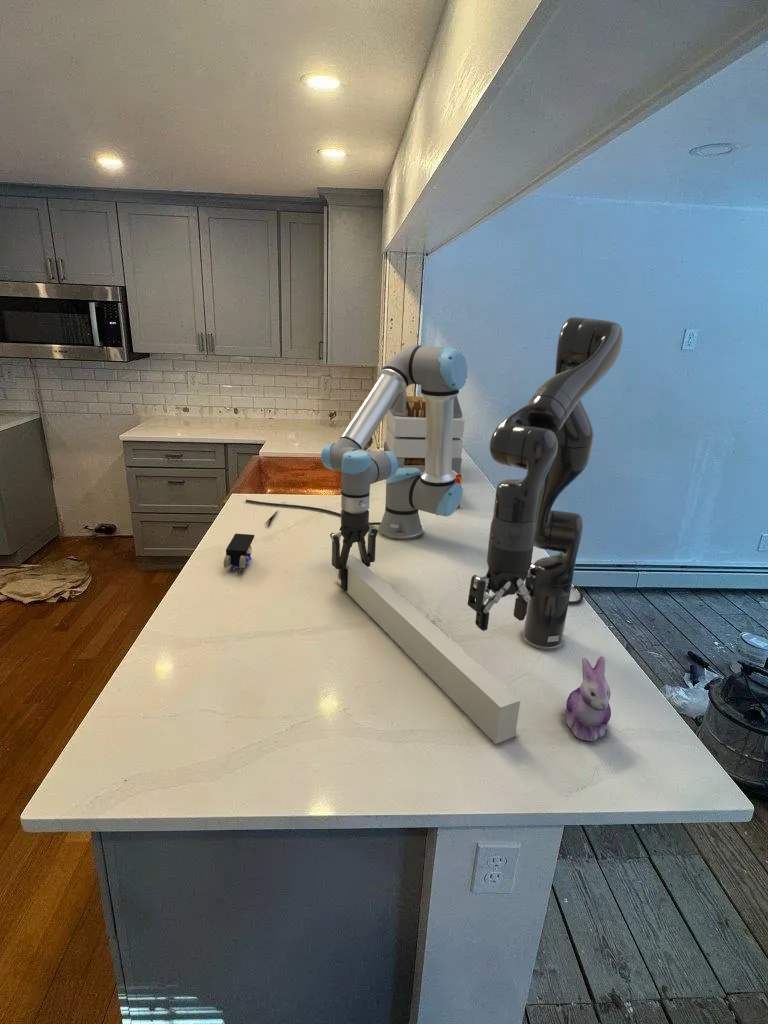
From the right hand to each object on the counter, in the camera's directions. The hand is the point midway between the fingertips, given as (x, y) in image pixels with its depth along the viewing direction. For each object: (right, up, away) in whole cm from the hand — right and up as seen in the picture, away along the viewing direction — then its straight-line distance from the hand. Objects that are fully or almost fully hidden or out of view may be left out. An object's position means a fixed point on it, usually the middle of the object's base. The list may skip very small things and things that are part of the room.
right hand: (500, 623), depth 102 cm
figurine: (+18, -22, +8) cm, 29 cm away
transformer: (-4, +39, +173) cm, 177 cm away
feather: (-62, +19, +110) cm, 128 cm away
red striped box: (+4, +26, +139) cm, 141 cm away
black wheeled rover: (-64, +4, +68) cm, 94 cm away
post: (-15, -11, +32) cm, 38 cm away
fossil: (-34, +51, +201) cm, 210 cm away
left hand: (-30, -1, +57) cm, 64 cm away
